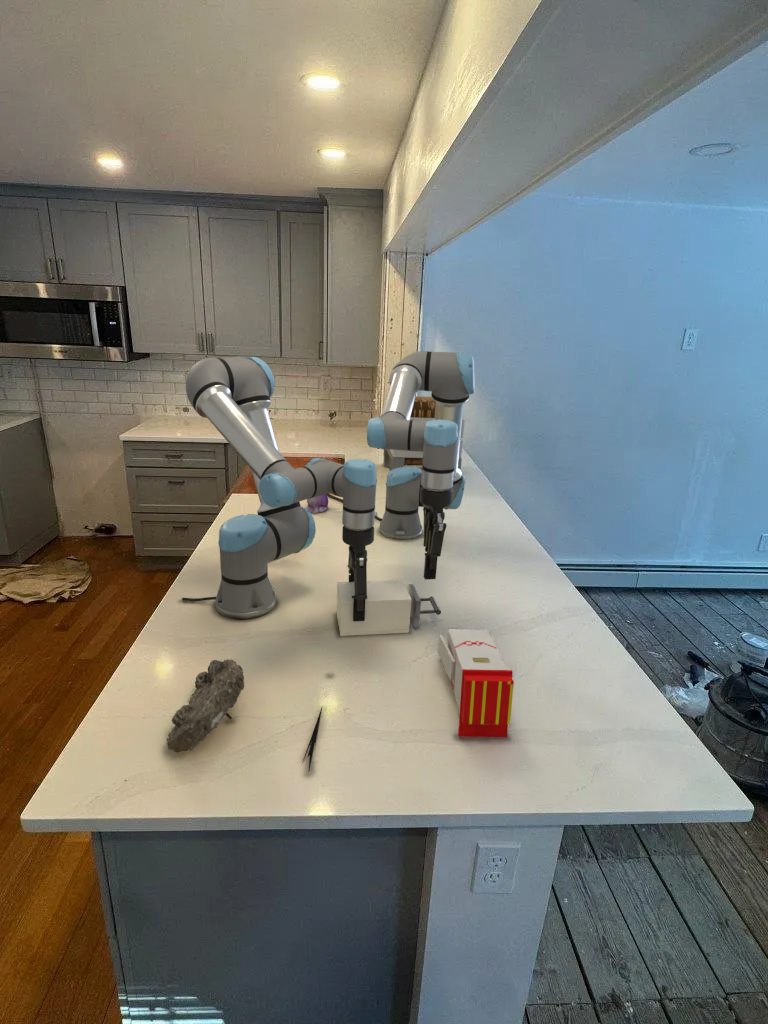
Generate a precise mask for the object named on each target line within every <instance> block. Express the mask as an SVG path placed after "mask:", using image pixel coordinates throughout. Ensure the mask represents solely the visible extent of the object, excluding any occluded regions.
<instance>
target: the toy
mask: <svg viewBox="0 0 768 1024" xmlns="http://www.w3.org/2000/svg"><path fill="white" fill-rule="evenodd" d="M446 640H447V643H446V641H445V639H444V636H443V635H442V634H439V637H438V646H437V656H438V657H439V659H440V661H441V663H442V666H443V668H444V670H445V672H446V674H447V677H448V679H449V681H450V684H451V687H452V690H453V693H454V697H455V701H456V705H457V708H458V711H459V714H458V715H459V716H458V730H457V731H458V732H457V737H458V738H508V731H509V726H510V725H511V717H512V707H513V697H514V696H513V695H514V684H515V680H514V679H513V673H514V671H513V670H512V669H508V667H507V665H506V662H505V661H504V659H503V658H502V655H501V653H500V651H499V649H498V647H497V643H496V639H495V637H494V635H493V634H491V632H490V631H489V629H467V628H466V629H465V628H463V629H461V628H460V629H459V628H448V630H447V639H446Z"/></svg>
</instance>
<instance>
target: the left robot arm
mask: <svg viewBox="0 0 768 1024" xmlns="http://www.w3.org/2000/svg"><path fill="white" fill-rule="evenodd" d="M274 377H275V376H274V374H273V371H272V369H271V367H270V366H269V365H268V364H267V363H266V362H265V361H264V360H263V359H261V358H260V357H257V356H247V355H241V356H231V357H230V356H229V357H227V356H226V357H208V358H207V357H206V358H203V359H201V360H199V361H197V362H196V363H194V365H192V367H190V370H188V373H187V376H186V378H185V393H186V396H187V399H188V402H189V403H190V405H191V407H192V409H194V411H195V412H196V413H197V415H199V416H200V417H202V418H206V419H208V421H209V422H210V423H211V424H212V425H213V426H214V428H215V429H216V430H217V431H218V432H219V434H220V435H221V436H222V437H223V438H224V439H225V440H226V442H227V443H228V445H230V446H231V448H232V449H233V450H234V452H235V453H237V454H238V456H239V457H240V458H241V459H242V460H243V462H244V463H245V464H246V465H247V466H248V468H249V469H250V472H251V476H252V478H253V482H254V485H255V489H256V493H257V496H258V499H259V503H260V505H259V507H258V509H257V511H256V513H257V514H254V513H247V514H240V515H236V516H233V517H231V518H228V519H227V520H225V521H224V522H223V523H222V524H221V526H220V528H219V530H218V540H217V541H218V543H217V544H218V548H219V558H220V559H219V562H220V576H221V577H220V578H221V579H220V584H219V587H218V590H217V593H216V596H207V597H198V598H197V597H195V598H193V597H181V601H185V602H205V601H215V609H216V610H215V611H216V612H217V613H218V614H220V615H221V616H223V617H226V618H230V619H236V620H245V619H246V620H247V619H249V620H250V619H255V618H259V617H261V616H264V615H266V614H268V613H270V612H271V611H272V610H274V608H275V606H276V604H277V603H276V602H277V601H276V597H277V596H276V590H275V588H274V587H273V585H272V583H271V580H270V578H269V574H268V572H269V571H268V564H269V563H271V562H274V561H277V560H279V559H283V558H285V557H287V556H290V555H293V554H298V553H300V552H301V551H303V550H306V549H307V548H309V547H310V546H311V545H312V544H313V542H314V539H315V537H316V532H317V531H316V530H317V529H316V522H315V518H314V516H313V513H312V512H309V510H308V509H307V507H305V506H302V505H301V502H303V501H307V499H310V498H314V497H318V496H321V495H324V494H330V495H332V496H335V497H337V498H341V499H343V502H342V518H341V519H342V522H341V524H342V525H343V526H342V527H341V528H342V531H341V532H342V533H341V536H342V537H341V539H342V542H343V543H344V544H346V545H347V546H348V561H347V568H348V582H354V588H355V595H354V596H352V599H353V598H354V603H353V622H354V621H365V599H367V581H368V580H367V579H368V576H367V573H368V571H367V570H368V569H367V568H368V567H367V566H368V550H366V546H369V545H372V544H374V541H375V521H376V520H375V519H376V518H375V517H374V516H377V517H378V512H377V511H376V496H377V495H376V494H377V483H378V478H377V465H376V464H375V462H373V461H371V460H370V459H362V458H352V459H347V460H346V461H345V462H344V464H343V463H339V462H335V461H333V460H330V459H327V458H320V457H315V458H312V459H311V460H309V462H307V463H306V465H304V466H300V467H293V466H292V465H291V464H290V462H289V461H288V460H287V459H286V458H285V457H284V455H282V453H281V452H280V449H279V446H278V442H277V438H276V435H275V432H274V429H273V424H272V421H271V418H270V414H269V411H268V410H269V408H270V405H271V404H272V400H271V397H272V396H273V395H274V392H275V388H274V387H275V386H276V384H275V383H276V382H275V378H274Z"/></svg>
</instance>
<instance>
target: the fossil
mask: <svg viewBox="0 0 768 1024" xmlns="http://www.w3.org/2000/svg"><path fill="white" fill-rule="evenodd" d="M243 670H244V669H243V667H242V665H240V664H237V662H236V661H235V660H234V659H232V658H231V659H227V658H226V659H224V660H223V661H222V660H217V659H212V660H211V661H210V663H209V665H208V666H207V671H201V672H199V673H198V674H197V675H196V676H195V680H194V684H195V685H194V687H195V689H194V690H193V693H192V694H191V697H190V698H189V700H188V704H184V705H182V706H181V707H180V709H177V710H176V711H175V713H174V715H173V716H172V718H171V723H172V724H173V727H172V730H171V731H170V732H168V734H167V738H166V741H167V742H166V745H167V749H168V750H169V751H173V752H174V753H176V754H178V753H182V752H188V751H189V752H192V751H193V750H195V748H196V747H197V746H199V744H200V743H201V742H203V741H204V740H205V739H206V738H207V737H208V736H209V735H210V734H211V733H212V732H214V730H215V729H217V727H218V726H219V724H220V722H221V721H222V720H223V719H224V718H225V716H226V717H227V719H229V720H233V717H232V715H230V714H229V710H230V709H231V708H234V706H235V704H236V703H237V702H238V699H239V697H240V695H241V693H242V691H243V690H245V689H244V688H245V675H244V671H243Z"/></svg>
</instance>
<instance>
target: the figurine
mask: <svg viewBox="0 0 768 1024" xmlns="http://www.w3.org/2000/svg"><path fill="white" fill-rule="evenodd" d="M306 504H307V507H306V509H308V510H309V513H311V514H317V513H322V512H325V511H327V510H328V509H329V496H327V494H324V495H321V496H318V497H314V498H310V499H306Z"/></svg>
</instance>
